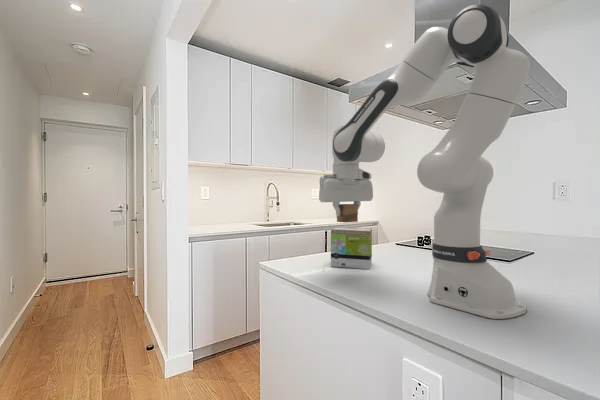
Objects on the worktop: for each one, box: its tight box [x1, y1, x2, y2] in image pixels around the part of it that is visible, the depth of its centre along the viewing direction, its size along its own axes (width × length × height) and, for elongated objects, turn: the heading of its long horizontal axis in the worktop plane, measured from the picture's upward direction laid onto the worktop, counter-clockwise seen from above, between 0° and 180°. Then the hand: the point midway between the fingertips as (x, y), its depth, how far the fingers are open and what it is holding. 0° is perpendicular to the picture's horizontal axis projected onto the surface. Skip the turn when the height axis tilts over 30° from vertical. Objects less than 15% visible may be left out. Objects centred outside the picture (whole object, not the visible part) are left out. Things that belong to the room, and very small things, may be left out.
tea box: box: [330, 226, 373, 270], centre depth 122 cm, size 15×10×15 cm, turn 73°
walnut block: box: [336, 203, 359, 223], centre depth 106 cm, size 5×5×6 cm
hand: (347, 215), depth 106 cm, fingers closed on walnut block, 5 cm apart
